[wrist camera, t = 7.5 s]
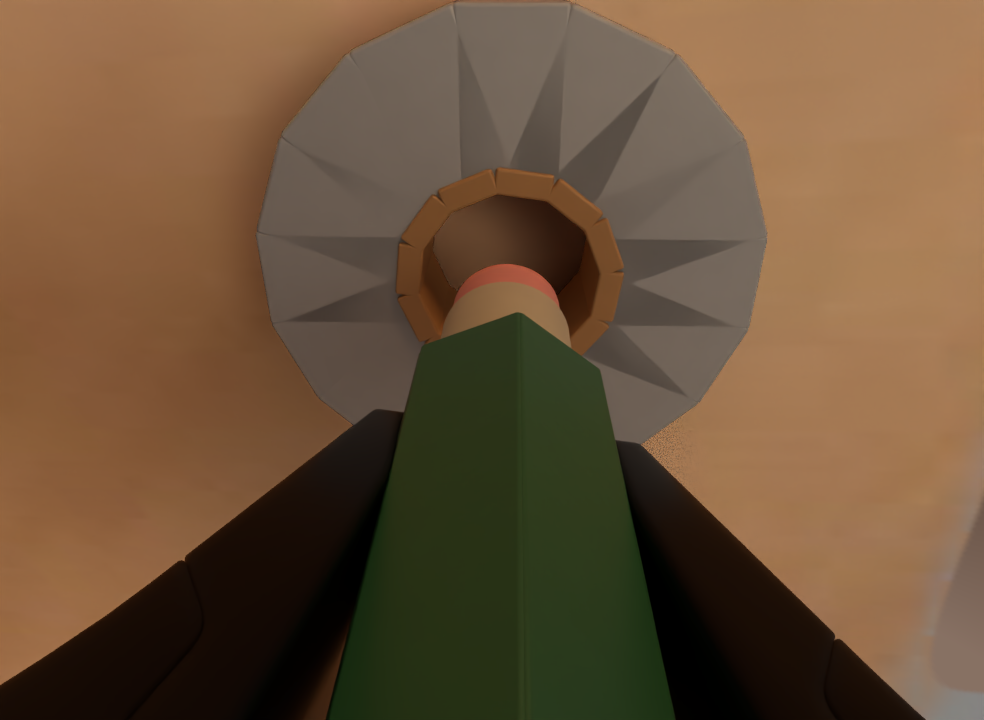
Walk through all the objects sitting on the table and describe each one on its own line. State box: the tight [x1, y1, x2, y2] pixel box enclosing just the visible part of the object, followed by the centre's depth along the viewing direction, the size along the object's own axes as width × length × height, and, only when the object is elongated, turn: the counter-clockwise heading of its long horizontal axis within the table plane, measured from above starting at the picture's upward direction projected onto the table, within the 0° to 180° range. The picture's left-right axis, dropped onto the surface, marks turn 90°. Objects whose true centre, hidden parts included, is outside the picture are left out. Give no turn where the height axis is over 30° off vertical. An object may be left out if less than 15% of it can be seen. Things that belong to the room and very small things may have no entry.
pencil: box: [325, 264, 676, 720], centre depth 7 cm, size 2×3×12 cm
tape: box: [256, 0, 767, 445], centre depth 15 cm, size 10×10×3 cm
